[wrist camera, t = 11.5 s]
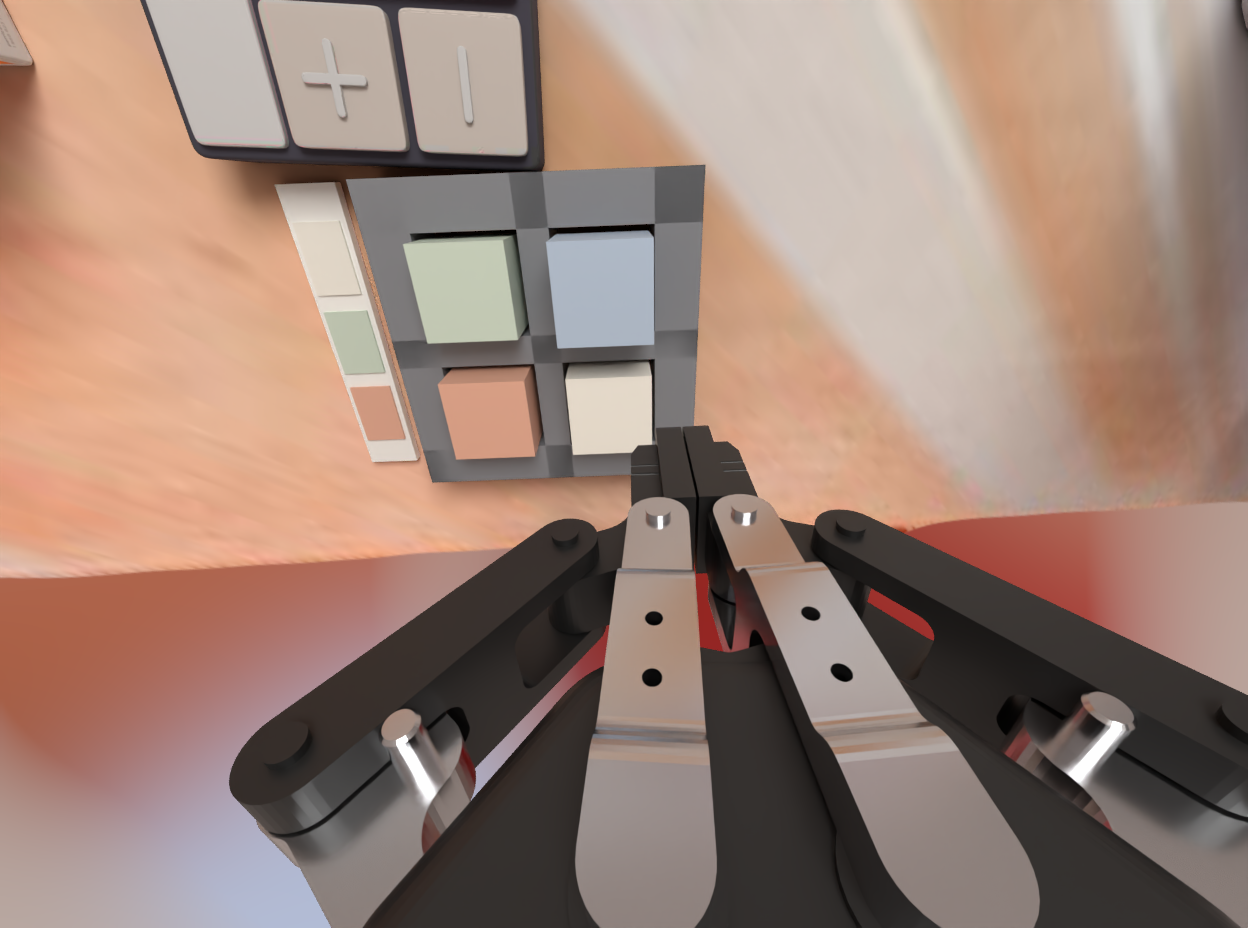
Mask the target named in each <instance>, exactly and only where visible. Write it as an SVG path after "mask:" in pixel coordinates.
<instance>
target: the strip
mask: <svg viewBox="0 0 1248 928" xmlns="http://www.w3.org/2000/svg"><path fill="white" fill-rule="evenodd" d="M275 188H276V191H277V193H278V196H279V199H280V202H281V205H282V208H283V210H284V213H285V216H286V219H287V222H288V225H289V227H290V230H291V233H292V236H293V239H294V242H295V244H296V247H297V250H298V253H299V256H300V259H301V261H302V264H303V267H304V270H305V273H306V275H307V278H308V281H309V284H310V287H311V290H312V292H313V295H314V298H315V301H316V304H317V307H318V309H319V312H320V315H321V318H322V321H323V324H324V326H325V329H326V332H327V335H328V338H329V341H330V343H331V346H332V349H333V352H334V355H335V358H336V360H337V363H338V366H339V369H340V372H341V374H342V377H343V380H344V383H345V386H346V389H347V391H348V394H349V397H350V400H351V403H352V406H353V408H354V411H355V414H356V417H357V420H358V423H359V425H360V428H361V431H362V434H363V437H364V440H365V442H366V445H367V448H368V451H369V454H370V456H371V459H372V462H387V461H413V460H418V458H419V457H420V453H419V450H418V446H417V443H416V439H415V436H414V433H413V429H412V426H411V422H410V419H409V415H408V412H407V409H406V405H405V402H404V398H403V395H402V391H401V388H400V385H399V381H398V378H397V374H396V371H395V367H394V364H393V361H392V357H391V354H390V350H389V347H388V343H387V340H386V337H385V333H384V330H383V326H382V323H381V319H380V316H379V313H378V309H377V306H376V302H375V299H374V295H373V292H372V289H371V285H370V282H369V278H368V275H367V271H366V268H365V265H364V261H363V258H362V254H361V251H360V247H359V244H358V241H357V237H356V234H355V230H354V227H353V223H352V220H351V217H350V213H349V210H348V206H347V203H346V199H345V196H344V193H343V189H342V186H341V182H325V183H301V184H276V185H275Z"/></svg>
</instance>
